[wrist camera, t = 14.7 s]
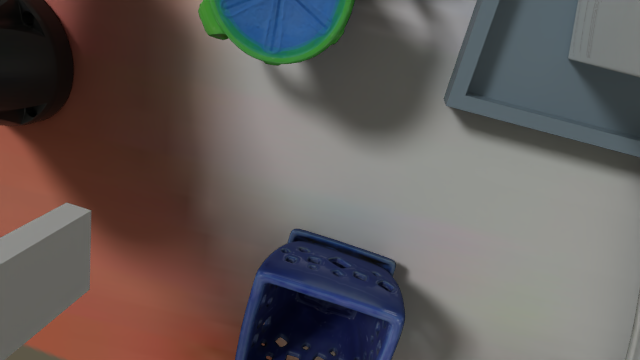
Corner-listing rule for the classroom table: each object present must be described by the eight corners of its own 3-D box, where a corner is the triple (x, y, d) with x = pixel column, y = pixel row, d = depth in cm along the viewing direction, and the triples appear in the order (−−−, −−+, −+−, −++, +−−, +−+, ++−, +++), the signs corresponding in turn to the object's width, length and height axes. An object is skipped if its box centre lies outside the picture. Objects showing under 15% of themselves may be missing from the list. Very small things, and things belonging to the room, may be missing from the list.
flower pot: (374, 342, 51) (363, 432, 40) (267, 305, 52) (227, 382, 41) (411, 246, 45) (409, 319, 34) (290, 208, 47) (252, 266, 36)
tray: (443, 98, 40) (446, 105, 36) (533, -166, 32) (546, -187, 29) (672, 159, 37) (696, 172, 34) (827, -109, 30) (877, -124, 27)
